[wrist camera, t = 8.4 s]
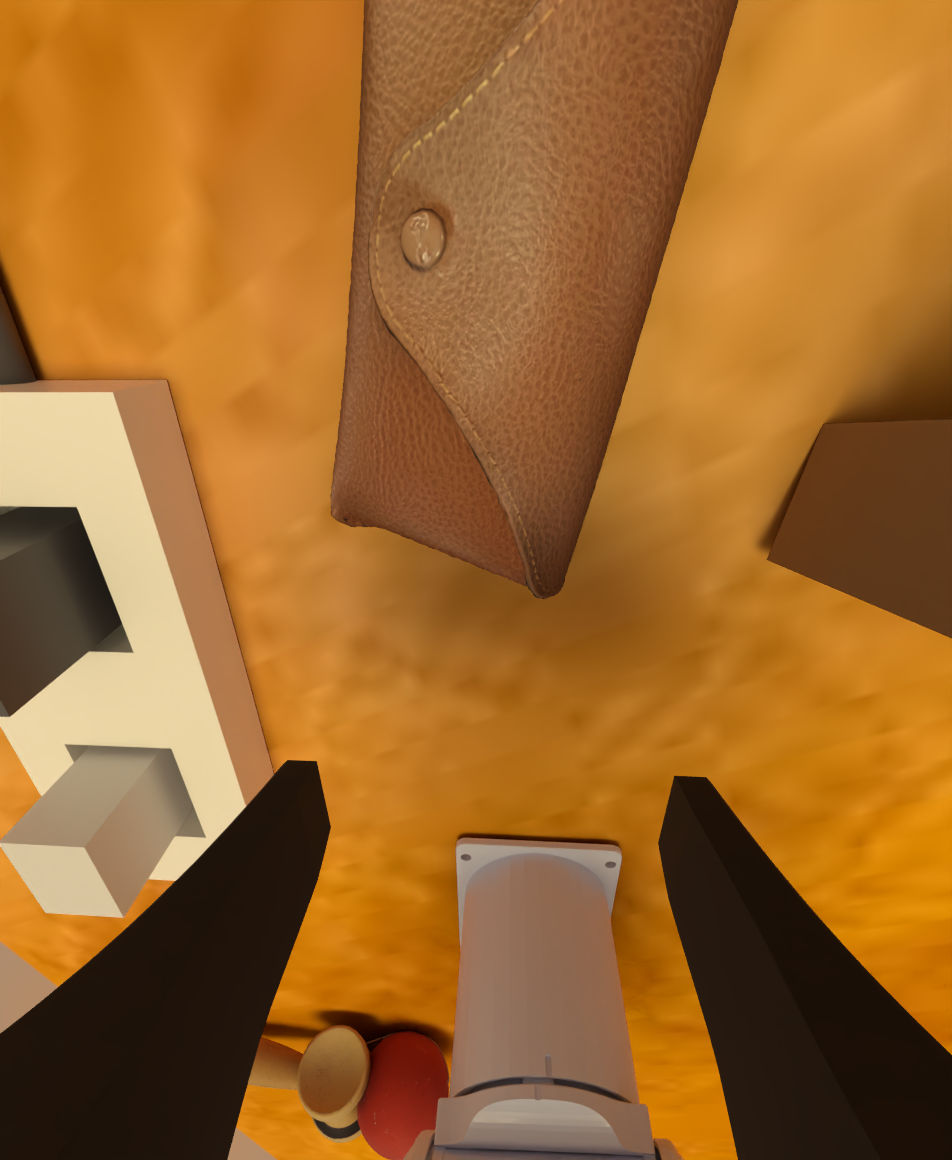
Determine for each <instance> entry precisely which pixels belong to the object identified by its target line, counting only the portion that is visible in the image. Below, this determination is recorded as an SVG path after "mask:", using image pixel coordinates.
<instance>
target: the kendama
mask: <svg viewBox="0 0 952 1160" xmlns="http://www.w3.org/2000/svg"><path fill="white" fill-rule="evenodd" d="M381 1039H383V1041H381V1042H380V1043H379V1044H378V1045H377V1046H376V1047H375V1048H374V1049H373V1051H372V1052H371V1053H370V1052H369V1050H368V1048H367V1044H370V1043H374V1042H376V1041H379V1040H381ZM448 1083H449V1073H448V1067H447V1064H446V1061H445V1058H444V1055H443V1053H442V1051H441V1050H440V1048H439V1047H438V1045H437V1044H436V1043H435V1042H434V1041H433V1040H432V1039H431V1038H429V1037H428V1036H424V1035H422V1034H420V1033H417V1032H412V1031H402V1032H397V1033H392V1034H389V1035H387V1036H383V1037H381V1038H378V1039H375V1040H373V1041H370V1042H367V1043H365V1041H364V1039H363V1038H362V1037H361V1035H360V1034H359V1033H358V1032H357V1031H356V1030H354V1029H353V1028H351V1027H349V1026H345V1025H335V1026H331V1027H329V1028H327V1029H325V1030H323V1031H322V1032H320V1033H319V1034H317V1035H316V1036H315V1037H314V1039H312V1041H311V1042H310V1043H309V1044H308V1046H307V1048H306V1050H305V1052H304V1054H302V1053H300V1052H298V1051H295V1050H293V1049H291V1048H289V1047H287V1046H284V1045H282V1044H279V1043H277V1042H274V1041H271V1040H268V1039H266V1038H262V1037H261V1039H260V1042H259V1046H258V1049H257V1053H256V1056H255V1060H254V1063H253V1067H252V1071H251V1074H250V1078H249V1081H248V1084H249V1085H255V1086H261V1087H269V1088H280V1089H294V1090H298V1093H299V1097H300V1100H301V1102H302V1105H303V1106H304V1108H305V1110H306V1111H307V1112H308V1113H309V1114H310V1115H311V1116H312V1119H313V1122H314V1124H315V1126H316V1128H317V1129H318V1131H319V1132H320V1133H321V1134H322V1135H323V1136H324V1137H326V1138H327V1139H329V1140H331V1141H333V1142H337V1143H343V1142H348V1141H351V1140H353V1139H355V1138H357V1137H358V1136H360V1135H361V1134H363V1136H364V1138H365V1140H366V1141H367V1143H368V1144H369V1145H370V1146H371V1147H372V1149H373V1150H374V1151H376V1152H377V1153H378V1154H379V1155H381V1156H383V1157H384V1158H387V1159H390V1160H403V1159H404V1157H405V1155H406V1154H407V1152H408V1151H409V1150H410V1148H411V1147H412V1146H413V1144H414V1142H415V1140H416V1138H417V1137H418V1135H419V1134H420V1133H421V1131H424V1130H435V1129H436V1118H437V1107H438V1100H439V1098H448V1093H449V1086H448Z"/></svg>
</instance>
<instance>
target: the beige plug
mask: <svg viewBox="0 0 952 1160" xmlns="http://www.w3.org/2000/svg"><path fill="white" fill-rule="evenodd" d="M193 807H194V806H193V803H192V801H191V798H190V795H189V793H188V790H187V788H186V785H185V783H184V780H183V777H182V775H181V772H180V770H179V767H178V765H177V762H176V760H175V757H174V754H173V752H172V749H171V748H146V747H121V746H96V745H90V746H89V747H88V748H87V750H86V751H85V752H84V753H83V754H82V755H81V756H80V757H79V758H78V759H77V760H76V761H75V762H74V763H73V764H72V765H71V766H70V767H69V768H68V770H67V771H66V772H65V773H64V774H63V775H62V776H61V777H60V778H59V779H58V780H57V781H56V782H55V783H54V784H53V785H52V786H51V787H50V789H49V790H48V791H47V792H46V793H45V794H44V795H43V796H42V797H41V798H40V799H39V800H38V801H37V802H36V803H35V804H34V805H33V806H32V808H31V809H30V810H29V811H28V812H27V813H26V814H25V815H24V816H23V817H22V818H21V819H20V820H19V821H18V822H17V823H16V824H15V825H14V827H13V828H12V829H11V830H10V831H9V832H8V833H7V834H6V835H5V836H4V837H3V838H2V839H1V840H0V847H1V848H2V849H3V851H4V852H5V854H6V855H7V857H8V858H9V860H10V861H11V863H12V864H13V866H14V867H15V869H16V870H17V871H18V873H19V874H20V876H21V877H22V879H23V880H24V882H25V883H26V885H27V886H28V888H29V889H30V891H31V892H32V894H33V895H34V896H35V898H36V899H37V901H38V902H39V904H40V905H41V907H42V908H43V910H44V911H45V913H57V914H73V915H90V916H106V917H122V918H124V916H125V915H126V913H127V912H128V910H129V908H130V907H131V905H132V904H133V902H134V901H135V899H136V897H137V896H138V894H139V893H140V891H141V889H142V888H143V886H144V885H145V883H146V881H147V880H148V878H149V877H150V875H151V874H152V872H153V870H154V869H155V867H156V866H157V864H158V862H159V861H160V859H161V858H162V856H163V854H164V853H165V851H166V850H167V848H168V846H169V845H170V843H171V842H172V840H173V839H174V837H175V835H176V834H177V832H178V831H179V829H180V827H181V826H182V824H183V823H184V821H185V819H186V818H187V816H188V815H189V813H190V812H191V810H192V808H193Z"/></svg>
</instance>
